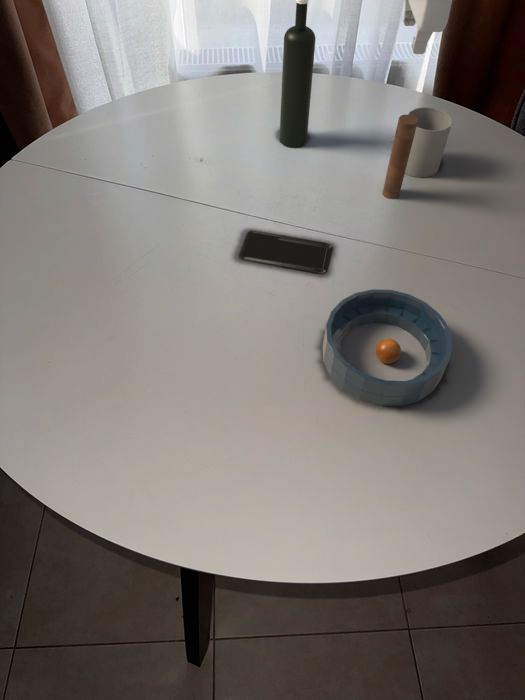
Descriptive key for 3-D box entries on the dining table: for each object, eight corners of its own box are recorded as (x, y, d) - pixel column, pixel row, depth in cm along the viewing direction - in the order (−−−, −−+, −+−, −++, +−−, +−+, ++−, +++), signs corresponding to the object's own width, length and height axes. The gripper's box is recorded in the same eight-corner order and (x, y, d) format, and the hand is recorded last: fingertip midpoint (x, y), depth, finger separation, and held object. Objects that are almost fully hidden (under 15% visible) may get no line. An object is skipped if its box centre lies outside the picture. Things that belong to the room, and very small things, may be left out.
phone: (325, 274, 95) (236, 258, 97) (324, 279, 96) (236, 263, 98) (332, 243, 100) (248, 228, 102) (332, 248, 100) (248, 233, 102)
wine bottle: (286, 130, 124) (295, -29, 101) (311, 137, 123) (325, -23, 99) (274, 143, 121) (280, -18, 97) (299, 150, 119) (312, -12, 96)
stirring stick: (397, 193, 111) (417, 115, 98) (398, 204, 109) (418, 125, 96) (381, 192, 111) (398, 113, 98) (381, 202, 109) (399, 123, 96)
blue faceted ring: (430, 317, 91) (440, 290, 86) (451, 411, 80) (463, 386, 75) (319, 314, 91) (323, 287, 86) (325, 408, 80) (330, 383, 75)
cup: (421, 182, 113) (433, 136, 105) (388, 164, 117) (398, 117, 109) (446, 166, 117) (461, 119, 109) (414, 148, 120) (426, 102, 113)
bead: (377, 345, 86) (390, 365, 86) (366, 349, 84) (380, 370, 83) (396, 332, 84) (409, 353, 84) (385, 335, 81) (399, 357, 81)
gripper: (477, -44, 70) (446, 71, 81) (446, -95, 83) (423, 10, 93) (425, -45, 70) (401, 70, 81) (402, -96, 83) (384, 9, 93)
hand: (412, 37), depth 87 cm, fingers open, 8 cm apart
